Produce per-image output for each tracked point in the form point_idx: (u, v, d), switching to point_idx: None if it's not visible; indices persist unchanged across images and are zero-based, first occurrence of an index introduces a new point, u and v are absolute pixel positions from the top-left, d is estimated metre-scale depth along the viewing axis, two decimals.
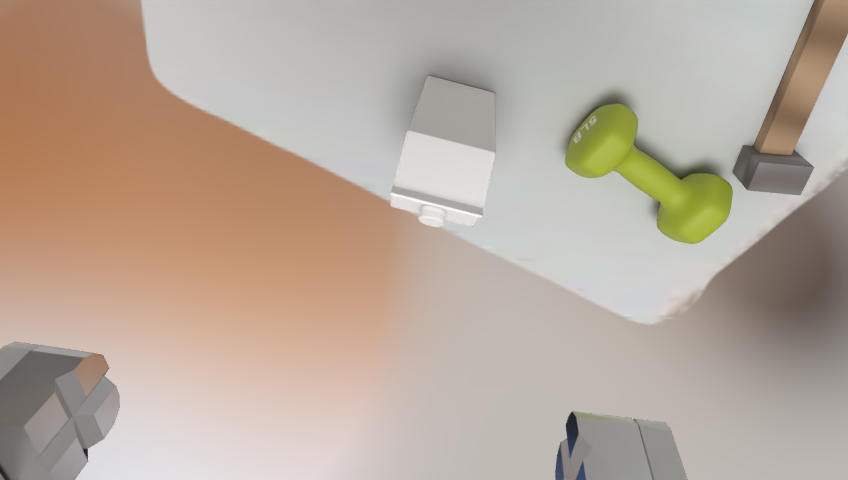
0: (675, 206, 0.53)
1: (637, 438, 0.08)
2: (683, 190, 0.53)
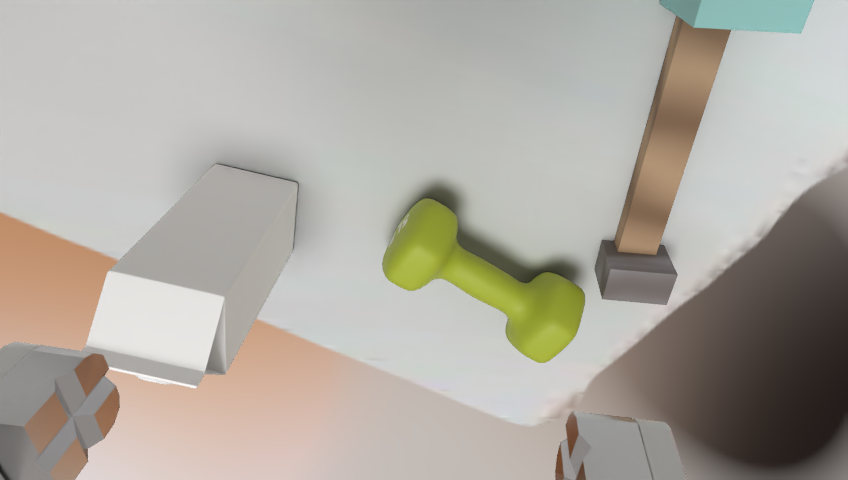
0: (516, 318, 0.44)
1: (637, 438, 0.08)
2: (524, 301, 0.43)
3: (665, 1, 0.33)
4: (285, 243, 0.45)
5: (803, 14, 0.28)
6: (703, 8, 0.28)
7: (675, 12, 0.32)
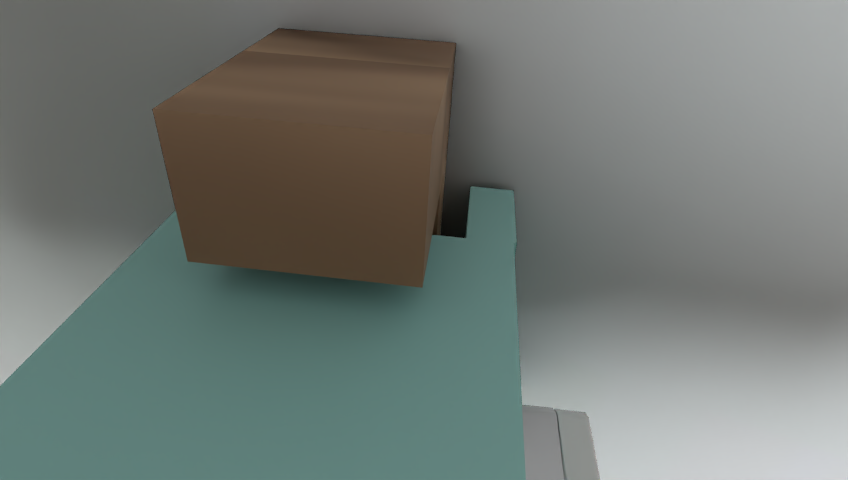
0: None
1: (554, 428, 0.08)
2: None
3: None
4: None
5: None
6: None
7: None
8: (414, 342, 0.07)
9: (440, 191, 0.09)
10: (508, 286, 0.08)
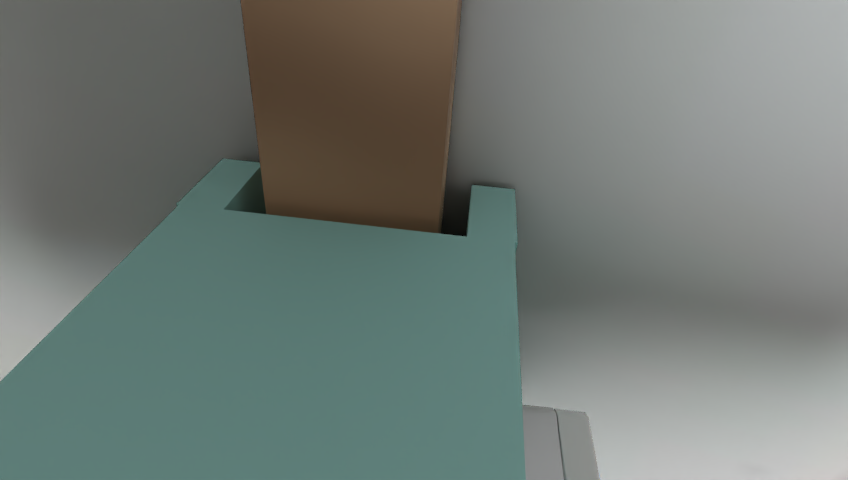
0: None
1: (554, 428, 0.08)
2: None
3: None
4: None
5: None
6: None
7: None
8: (414, 339, 0.07)
9: None
10: (509, 284, 0.08)
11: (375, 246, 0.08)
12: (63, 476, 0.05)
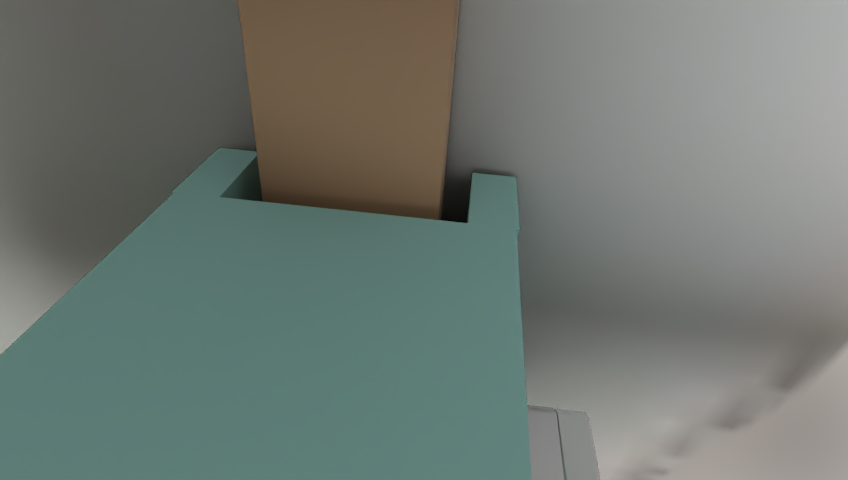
0: None
1: (554, 427, 0.08)
2: None
3: None
4: None
5: None
6: None
7: None
8: (414, 325, 0.06)
9: None
10: (511, 270, 0.07)
11: (374, 233, 0.08)
12: (50, 462, 0.05)
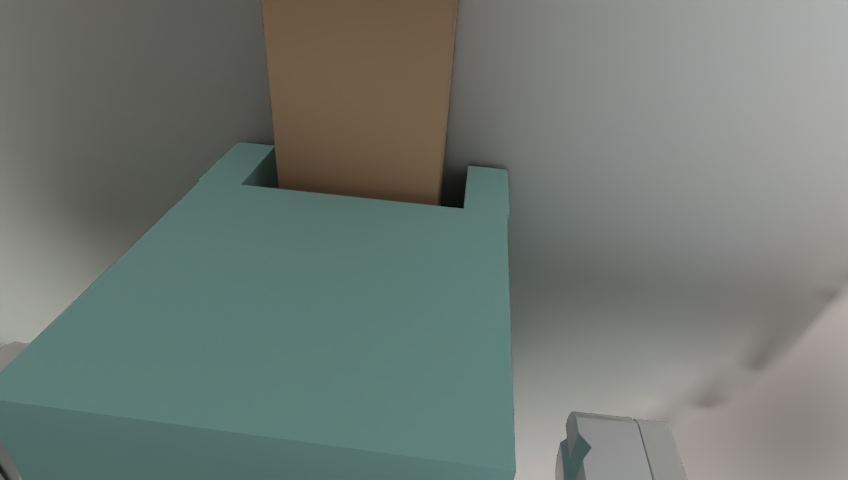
0: None
1: (637, 438, 0.08)
2: None
3: None
4: None
5: None
6: None
7: None
8: (416, 291, 0.07)
9: None
10: (501, 248, 0.08)
11: (380, 216, 0.09)
12: (116, 391, 0.06)
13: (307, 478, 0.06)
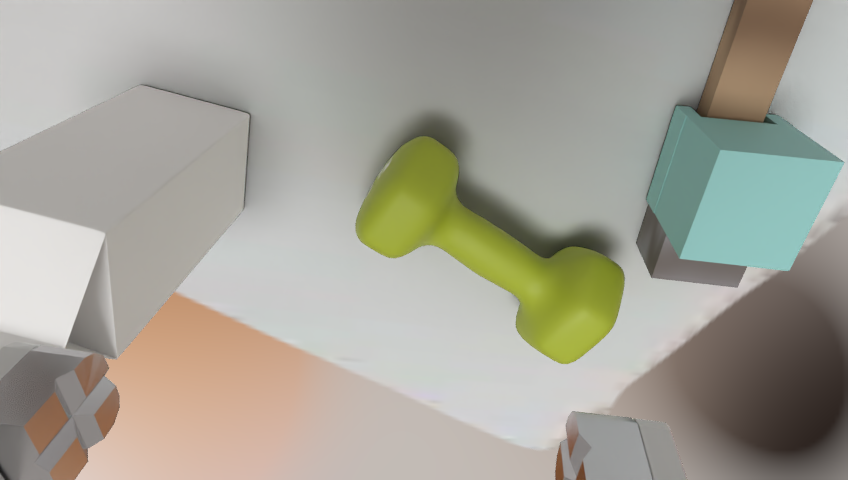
0: (532, 302, 0.33)
1: (637, 438, 0.08)
2: (543, 279, 0.32)
3: (651, 202, 0.33)
4: (229, 193, 0.34)
5: (791, 255, 0.27)
6: (690, 243, 0.27)
7: (661, 224, 0.31)
8: (789, 139, 0.27)
9: None
10: (800, 132, 0.28)
11: (755, 125, 0.28)
12: (748, 150, 0.25)
13: (791, 169, 0.25)
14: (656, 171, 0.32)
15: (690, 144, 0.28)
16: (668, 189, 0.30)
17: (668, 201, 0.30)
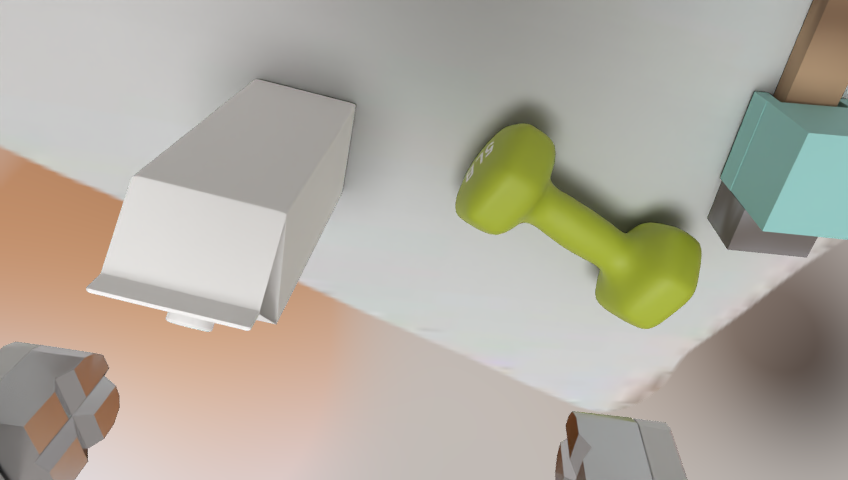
0: (617, 273, 0.36)
1: (637, 438, 0.08)
2: (628, 252, 0.36)
3: (727, 181, 0.36)
4: (338, 177, 0.37)
5: None
6: (773, 217, 0.30)
7: (739, 200, 0.34)
8: None
9: None
10: None
11: (832, 109, 0.31)
12: (833, 132, 0.28)
13: None
14: (732, 152, 0.35)
15: (772, 127, 0.31)
16: (747, 168, 0.33)
17: (747, 179, 0.33)
